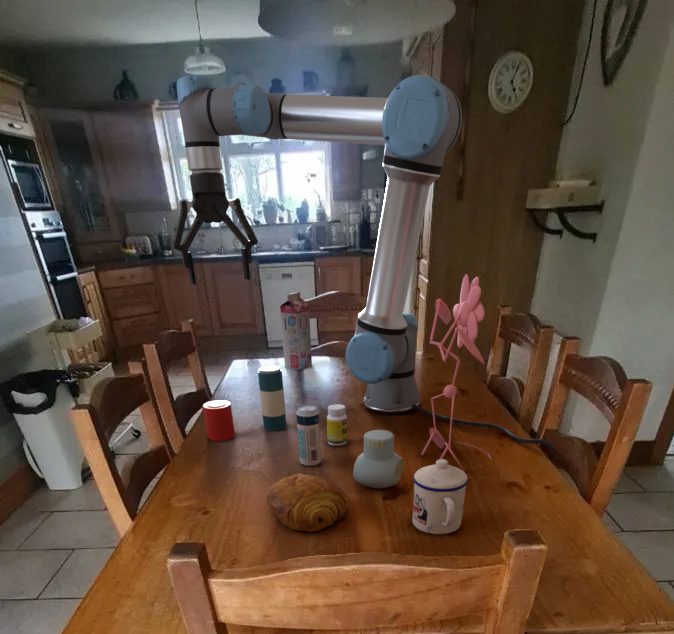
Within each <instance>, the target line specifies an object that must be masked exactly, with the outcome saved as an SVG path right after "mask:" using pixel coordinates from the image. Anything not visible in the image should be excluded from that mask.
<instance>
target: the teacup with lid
mask: <svg viewBox="0 0 674 634" xmlns="http://www.w3.org/2000/svg"><path fill="white" fill-rule="evenodd" d="M413 482H414V486H413V502H412V516H411V517H412V519H411V521H412V524H413V527H415V528H416V529H417V530H419V531H421V532H424V533H427V534H431V535H445V534H451V533H454V532H455V531H457V530H459V528H460V527H461V525H462V522H463V521H462V520H463V512H464V505H465V504H464V503H465V496H466V488H467V485H468V483H469V478H468V475H467V473H466V472H465V470H464V471H463V470H462V469H461V468H460V467H457V466H453V465H451V464H449V461H448V460H447V459H444V458H443V459H440V458H439V459H437V460H436V461H435V463H433V464H430V465H425V466H423V467H420V468H419V469H417V471H415V473H414V475H413Z"/></svg>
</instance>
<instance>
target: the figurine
mask: <svg viewBox="0 0 674 634" xmlns="http://www.w3.org/2000/svg"><path fill="white" fill-rule="evenodd" d="M481 296H482V288H481V286H480V277H479V276H475V278H473V279H472V281H471V283H470V278H469V274H467V273H465V275H464V277H463V279H462V283H461V288H460V293H459V303H456V304H454V306H453V309H452V313H451V310H450V308H449V306H448V305H447V304H446V303H445V302H444V301H443V300H442V298H437V299H436V300H435V303H434V310H435V314H434V319H433V324H432V329H431V332H430V338H429V344H430V345H434V346H437V348H438V349H439V351H440V355H441V358H442V361H443V363H447V360H448V358H449V355H450V356H451V357H452V358H454V359H455V360H456V361H457V362H456V366H455V371H454V374H453V379H452V383H451V384H447V385H446V386H445V387H444V388H443V393H441V394H438V395H435V396H433V397H431V399H430V401H431V409H432V411H431V412H432V413H433V416H432V419H433V427H430V428H429V436H430V437H429V439H428V440H427V442H426V444H425V446H424V448H423V449H422V452H421V453H420V455H421V456H424V455H425V453H426V451H427V450H428V448H429V445H430V444H431V442H432V441H433V443H435V445H436V446H437V447H438V448H439V449H440V450H442V449H443V448H444V446H446V447H445V448H444V450H443V452H442V454H441V456H440V457H439V459H444V457H445V456H446V454H447V452H448V451H449V453H450V454H451V456H452V457H453V459H454V461H456V463H457V464H458V466H459V468H460V469H461V470H462V471H464V472H465V468H464V467H463V466H462V464H461V462H460V461H459V459H458V458H457V456H456V454H455V453H454V451H453V449H451V448H452V445H451V443H452V442H451V441H452V429H453V422H452V420H453V418H454V405H455V398H456V395H457V394H458V389H457V387H456V386H455V382H456V380H457V379H456V378H457V375H458V372H459V369H460V365H461V359H460V357H459V356H457V355H456V354H455V353H454V352H452V351H451V350H452V348H453V345H454V342H455V340H456V338H457V343H456V344H457V348H458V349H461V348H462V347H463V346H465V348H466V349H467V351H469V352H470V354H471V355H472V356H473V357H474V358H475V359H476V360H477V361H478V362H479V363H481V364H482V365H484V364H485V361H484V358H483V356H482V355H481V352H480V350H479V349H478V347H477V346H476V344H475V341H476V339H477V338H478V333H479V325H478V323H481V322H482V321H483V320H484V319H485V315H486V313H485V312H486V311H485V307H484V305H483V304H482V302H481V301H480V300H481V299H480V298H481ZM452 314H453V319H454V322H453V323H452V325H451V326H450V328H449V329H448V330H447V332H446V333H445V335H444V337H443V339H442V340H441V341H439V342H438V341H434V336H435V330H436V326H437V322H438V317H439V318H440V319H441V321H442V322H443V323H444V325H448V324H449V323H450V322H451V321H452ZM456 325H457V326H456ZM453 330H454V333H453V335H452V338H451V340H450V343H449V345H448V348H447V347H445V346H444V345H445V343H446V340H447V339H448V337H449V336H450V335H451V333H452V331H453ZM442 396H444V397H445V398H447V400H448V399H449V400H451V399H452V400H451V410H450V418H451V421H449V423H450V424H449V438H448V443H447V441H445V439H444V437H443V435H442V433H440V431H439V430H438V429H437V427H436V417H435V415H434V413H435V407H434V406H435V405H434V400H435V399H438V398H440V397H442ZM455 443H458V444H461V445H466V446H469V447H473V448H475V449H478V450H480V451H481V452H483V453H485V454H486V455H487V456H488V457H489V459H492V458H491V456H490V454H489V453H488V452H487V451H484V450H483V449H481V448H479V447H477V446H476V445H475V444H468V443H464V442H459V441H455Z"/></svg>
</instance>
